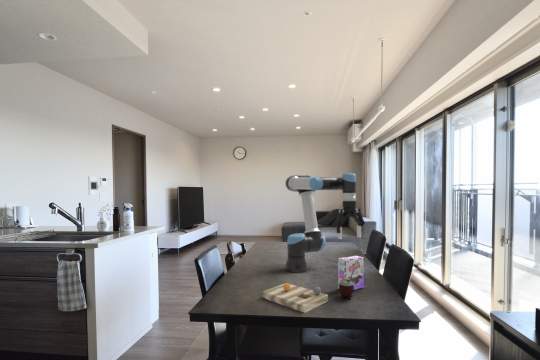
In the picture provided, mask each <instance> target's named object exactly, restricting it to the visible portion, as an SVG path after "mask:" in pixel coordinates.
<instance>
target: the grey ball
mask: <svg viewBox="0 0 540 360" xmlns="http://www.w3.org/2000/svg"><path fill="white" fill-rule="evenodd" d="M312 290H313V291H314V293H315V294H316V295H319V294H320V293H322V288H320V286H314V288H313V289H312Z"/></svg>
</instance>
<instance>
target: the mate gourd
mask: <svg viewBox="0 0 540 360" xmlns="http://www.w3.org/2000/svg"><path fill="white" fill-rule="evenodd" d="M356 269H357V268H356ZM356 269H354V270H353V271H352V274H351V277H352V275H353V273H354V271H355V270H356ZM351 277H350V279H349V280H348V279H343V280H341V281H340V283H339V292H340V298H341V299H348V300H349V301H350V300H352V298H351V297H353V293H354V291H355V290H354V285H353V282H352V281H351Z"/></svg>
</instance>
